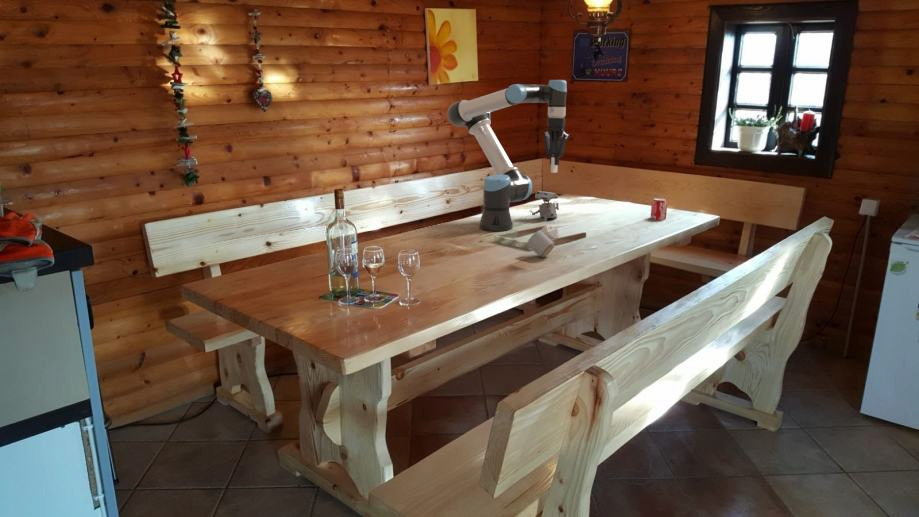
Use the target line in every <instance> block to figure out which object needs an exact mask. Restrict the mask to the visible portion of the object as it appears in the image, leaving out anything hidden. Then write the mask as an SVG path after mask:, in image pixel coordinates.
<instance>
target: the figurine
mask: <svg viewBox="0 0 919 517" xmlns="http://www.w3.org/2000/svg"><path fill="white" fill-rule="evenodd" d="M534 198H535V199H538V200H542V201H543V202H542V203H541V204H539V205H538V209H537V210H535V211H532V210H530V213H531V215H532V216H535V215H537V214H538V213H539V221H542V222H548V219H550V218H551V219H555V220H556V219H558V214H557V211H559V210H560V206H559V202H557V201H554V202H550V201H551V200H556V199H558V198H559V195H558V194H557V193H556V192H551V191H543V190H537V191H536V192H535V195H534Z"/></svg>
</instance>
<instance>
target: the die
mask: <svg viewBox="0 0 919 517" xmlns="http://www.w3.org/2000/svg"><path fill="white" fill-rule="evenodd" d="M543 226H544V227H543V228H542V229H541V230H540V231H542V232H543V233H544V234H545V235H546V236H547V237H548V238H549V239H556V238H560V235H559V230H558V229H559V228H556V227H553V226H552V225H548V224H544V225H543Z"/></svg>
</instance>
